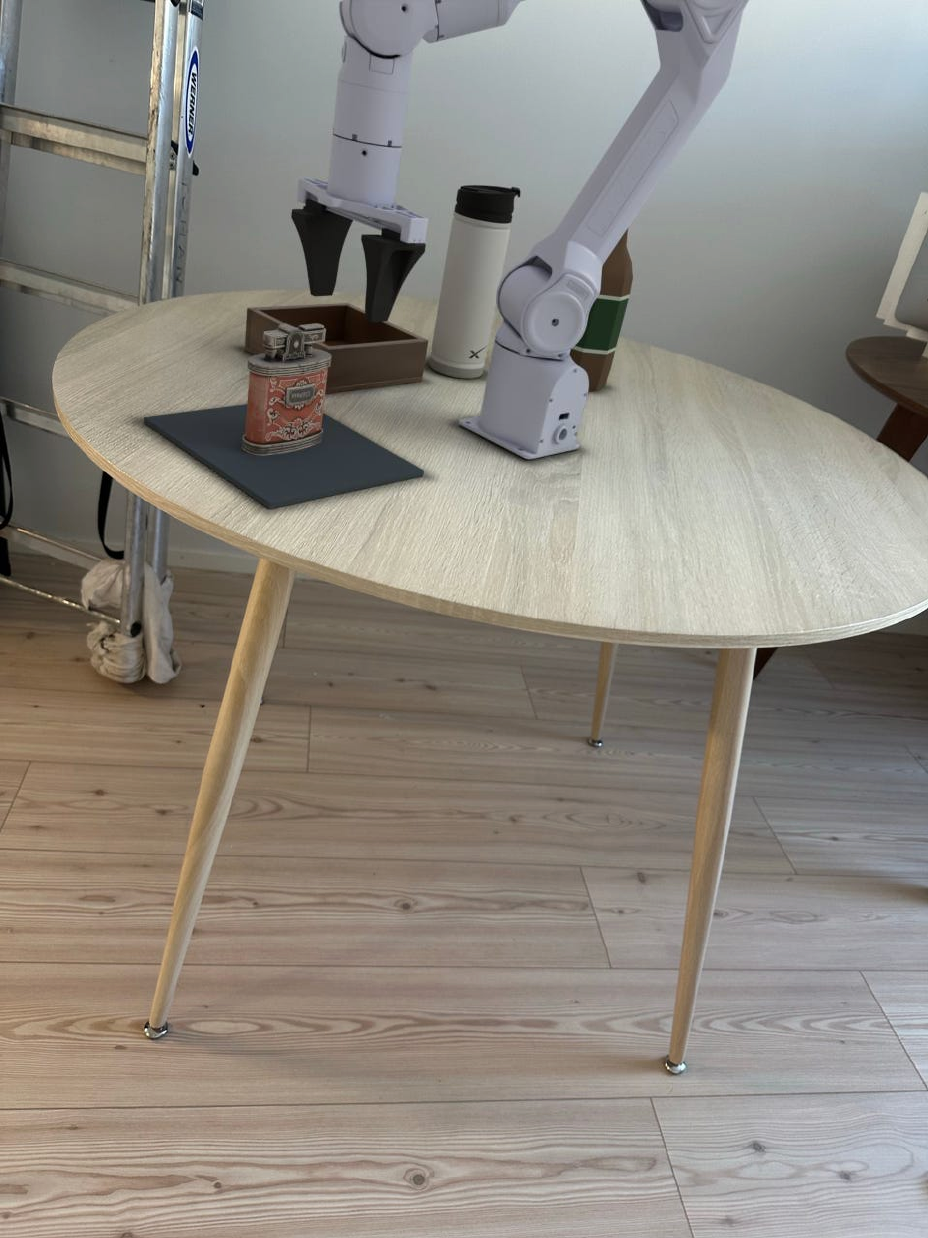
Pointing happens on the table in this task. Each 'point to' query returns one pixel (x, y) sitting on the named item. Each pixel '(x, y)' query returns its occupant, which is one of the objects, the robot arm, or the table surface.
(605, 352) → the beer bottle
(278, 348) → the lighter
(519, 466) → the table surface
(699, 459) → the table surface
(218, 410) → the mat
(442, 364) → the travel mug
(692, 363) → the table surface
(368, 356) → the brown wooden tray
